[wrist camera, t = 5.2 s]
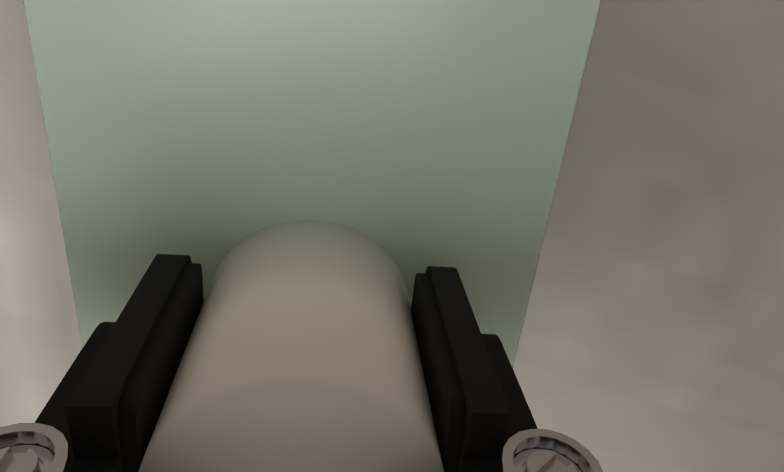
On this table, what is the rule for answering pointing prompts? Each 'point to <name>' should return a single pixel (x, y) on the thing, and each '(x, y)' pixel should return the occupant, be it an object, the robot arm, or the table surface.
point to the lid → (306, 199)
